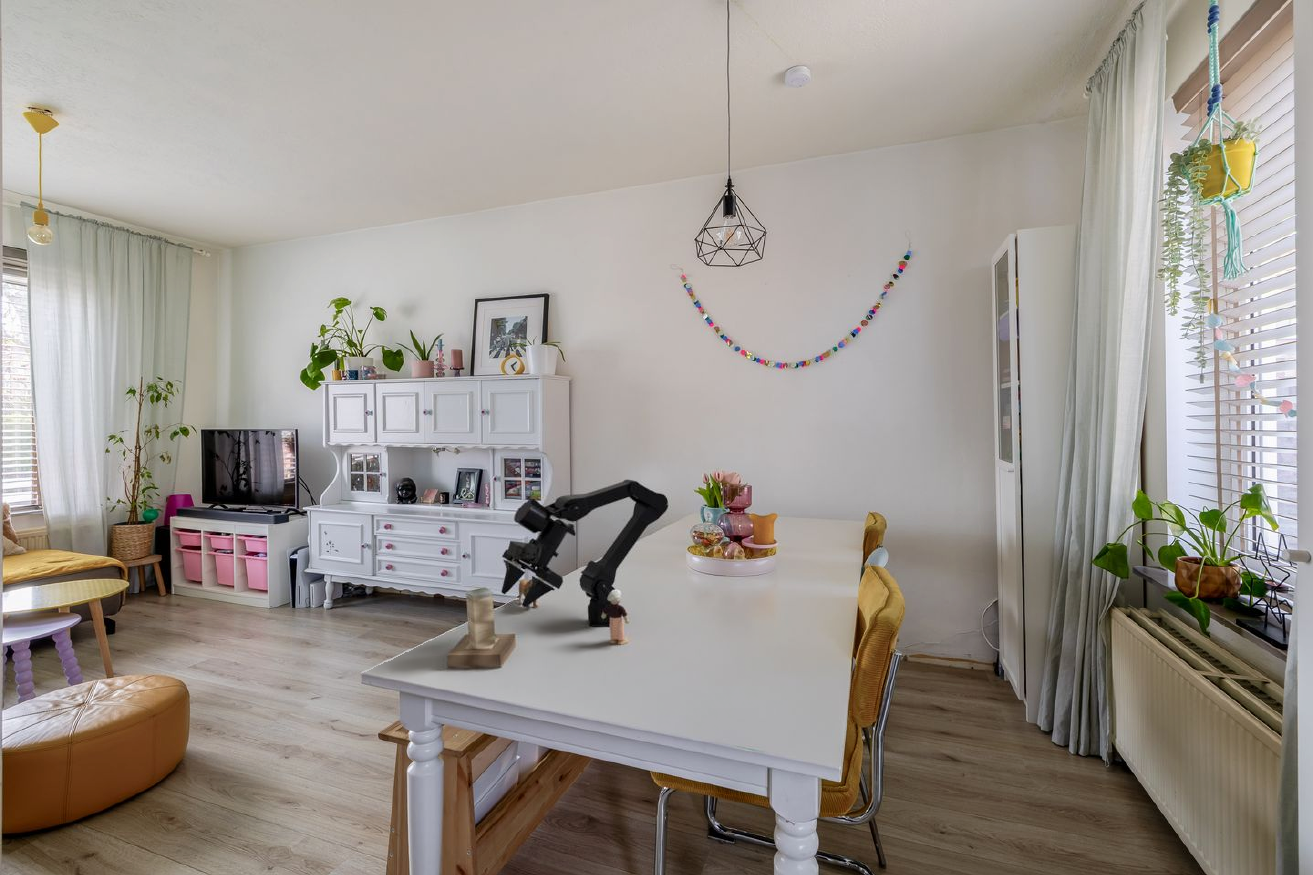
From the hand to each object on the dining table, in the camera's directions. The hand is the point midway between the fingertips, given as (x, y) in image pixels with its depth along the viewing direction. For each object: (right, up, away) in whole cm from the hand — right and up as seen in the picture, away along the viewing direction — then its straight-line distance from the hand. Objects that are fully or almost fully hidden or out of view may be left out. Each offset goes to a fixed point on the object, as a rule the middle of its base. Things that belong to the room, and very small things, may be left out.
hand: (513, 599), depth 157 cm
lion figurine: (-2, -9, +29) cm, 31 cm away
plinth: (-6, -12, -5) cm, 14 cm away
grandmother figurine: (+25, -10, +1) cm, 27 cm away
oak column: (-6, -9, -5) cm, 12 cm away
